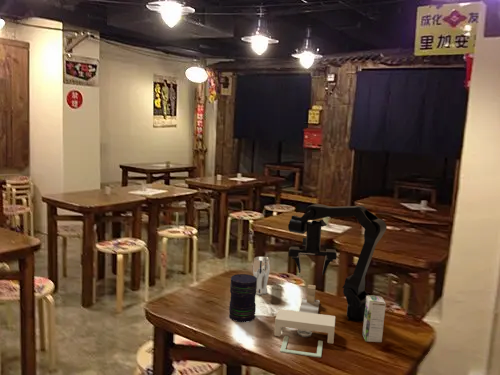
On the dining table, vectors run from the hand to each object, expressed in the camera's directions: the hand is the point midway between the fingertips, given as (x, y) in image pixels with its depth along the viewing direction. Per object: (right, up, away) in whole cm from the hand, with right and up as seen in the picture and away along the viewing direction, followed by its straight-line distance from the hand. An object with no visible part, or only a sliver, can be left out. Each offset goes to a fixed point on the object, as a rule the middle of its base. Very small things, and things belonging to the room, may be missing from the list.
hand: (311, 273), depth 191 cm
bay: (-8, -18, -34) cm, 39 cm away
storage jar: (-28, -14, -13) cm, 34 cm away
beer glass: (-20, -10, +12) cm, 26 cm away
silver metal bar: (-2, -14, -7) cm, 16 cm away
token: (-6, -17, -25) cm, 31 cm away
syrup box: (+18, -18, -26) cm, 36 cm away
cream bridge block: (-6, -16, -25) cm, 31 cm away
